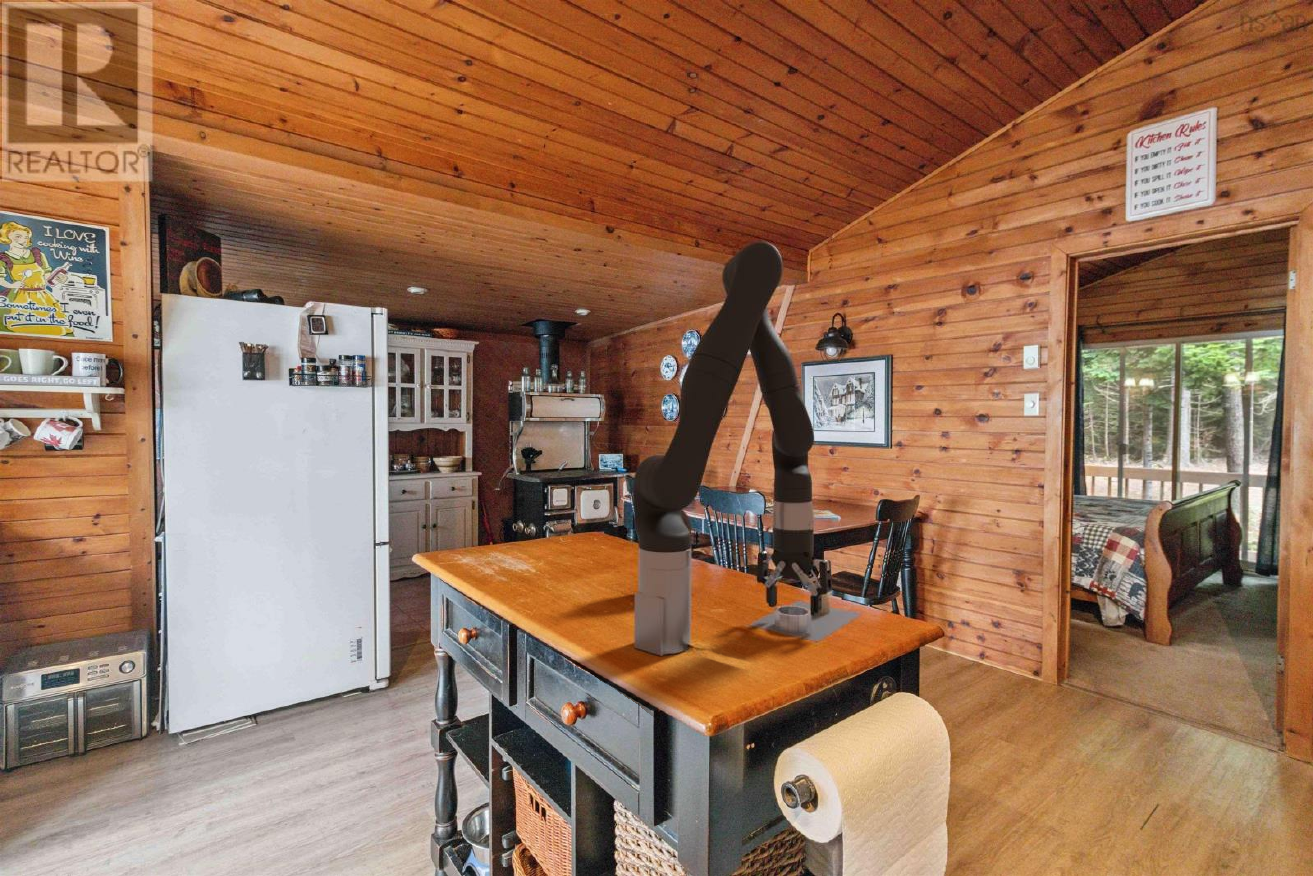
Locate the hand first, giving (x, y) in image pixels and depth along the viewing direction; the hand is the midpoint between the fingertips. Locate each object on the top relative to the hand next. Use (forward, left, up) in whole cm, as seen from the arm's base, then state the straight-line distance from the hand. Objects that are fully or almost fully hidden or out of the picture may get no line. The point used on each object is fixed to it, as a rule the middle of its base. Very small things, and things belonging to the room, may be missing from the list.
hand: (793, 610), depth 114 cm
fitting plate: (+5, 0, -4) cm, 7 cm away
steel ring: (-1, 0, -3) cm, 3 cm away
